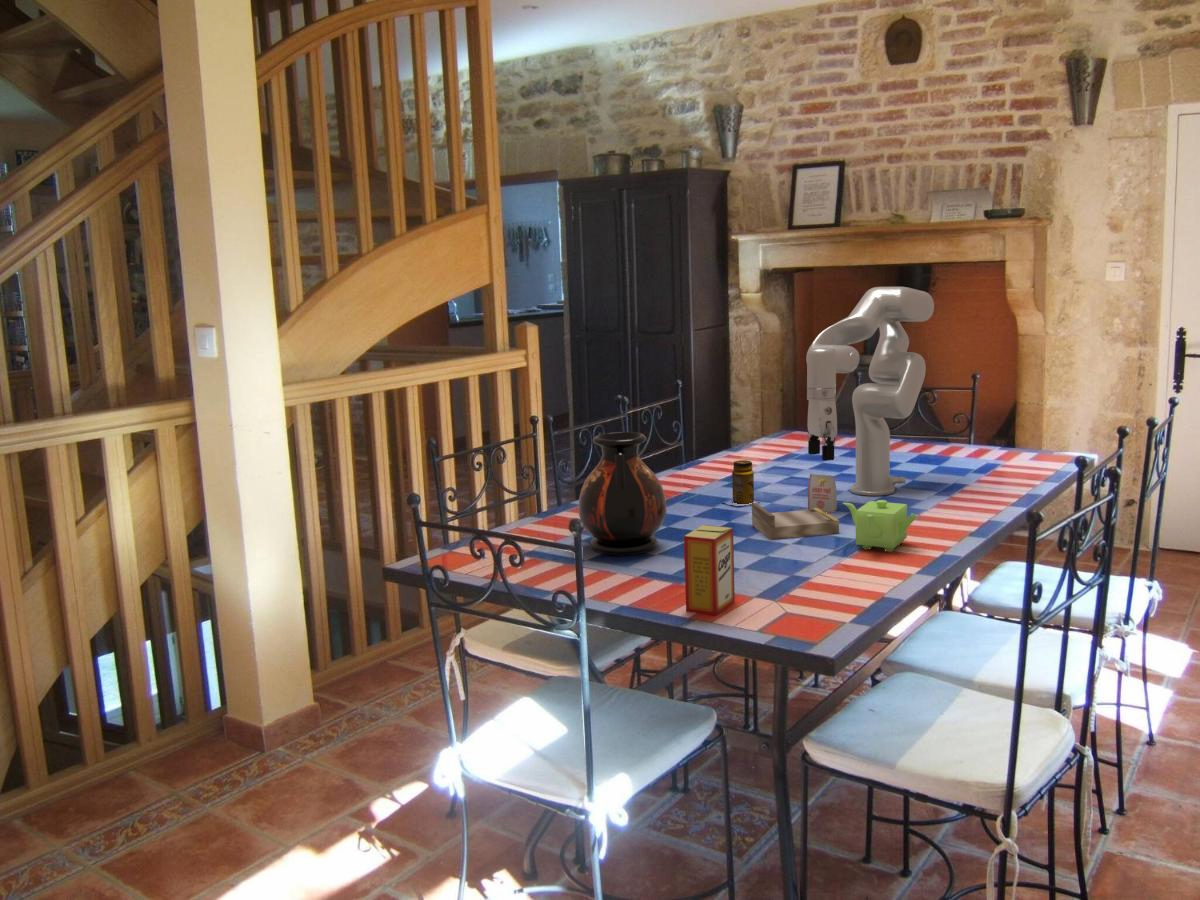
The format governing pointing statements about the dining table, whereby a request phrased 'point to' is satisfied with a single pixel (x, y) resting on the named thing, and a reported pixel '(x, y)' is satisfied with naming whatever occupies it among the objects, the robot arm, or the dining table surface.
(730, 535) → the baking soda box
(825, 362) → the robot arm
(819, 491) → the small white carton
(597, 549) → the amphora vase
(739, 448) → the dining table surface
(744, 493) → the condiment
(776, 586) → the dining table surface
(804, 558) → the dining table surface
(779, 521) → the dock
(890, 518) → the kettle
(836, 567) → the dining table surface
